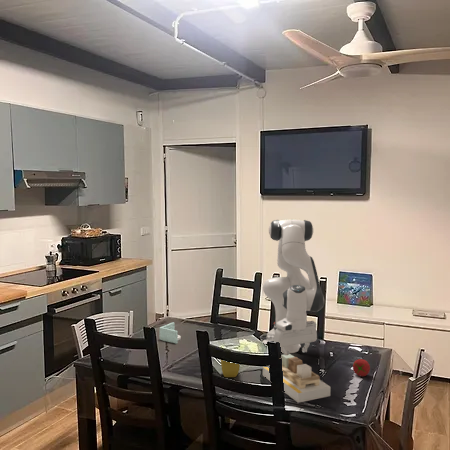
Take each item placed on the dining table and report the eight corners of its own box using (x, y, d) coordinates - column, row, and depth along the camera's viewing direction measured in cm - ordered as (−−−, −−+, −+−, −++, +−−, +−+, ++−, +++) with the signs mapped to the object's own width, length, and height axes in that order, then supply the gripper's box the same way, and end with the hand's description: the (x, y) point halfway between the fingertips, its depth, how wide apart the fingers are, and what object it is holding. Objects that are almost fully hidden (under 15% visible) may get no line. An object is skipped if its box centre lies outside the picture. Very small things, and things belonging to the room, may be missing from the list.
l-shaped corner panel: (176, 344, 270) (176, 331, 270) (159, 340, 277) (159, 327, 276) (189, 338, 280) (189, 325, 280) (173, 334, 287) (173, 322, 286)
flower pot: (219, 371, 232) (219, 353, 231) (238, 371, 233) (238, 353, 232) (220, 379, 224) (221, 360, 223) (240, 379, 224) (240, 359, 223)
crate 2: (296, 375, 213) (297, 365, 212) (305, 373, 214) (305, 363, 214) (302, 379, 209) (302, 369, 208) (311, 377, 210) (311, 367, 210)
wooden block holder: (272, 368, 227) (272, 351, 226) (289, 365, 231) (289, 349, 230) (301, 388, 205) (301, 370, 205) (319, 385, 209) (319, 367, 208)
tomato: (363, 354, 233) (358, 356, 226) (375, 367, 229) (371, 369, 223) (351, 365, 235) (346, 368, 228) (363, 378, 232) (359, 381, 225)
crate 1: (281, 364, 224) (281, 355, 224) (289, 363, 226) (289, 353, 226) (286, 367, 220) (286, 358, 220) (294, 366, 222) (294, 357, 222)
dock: (262, 375, 229) (262, 366, 228) (292, 370, 235) (292, 361, 235) (297, 402, 201) (298, 392, 201) (330, 395, 208) (330, 386, 208)
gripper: (312, 318, 223) (311, 347, 224) (272, 323, 214) (271, 354, 216) (320, 322, 217) (319, 352, 219) (280, 327, 209) (279, 359, 210)
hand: (295, 353), depth 217 cm, fingers open, 8 cm apart
